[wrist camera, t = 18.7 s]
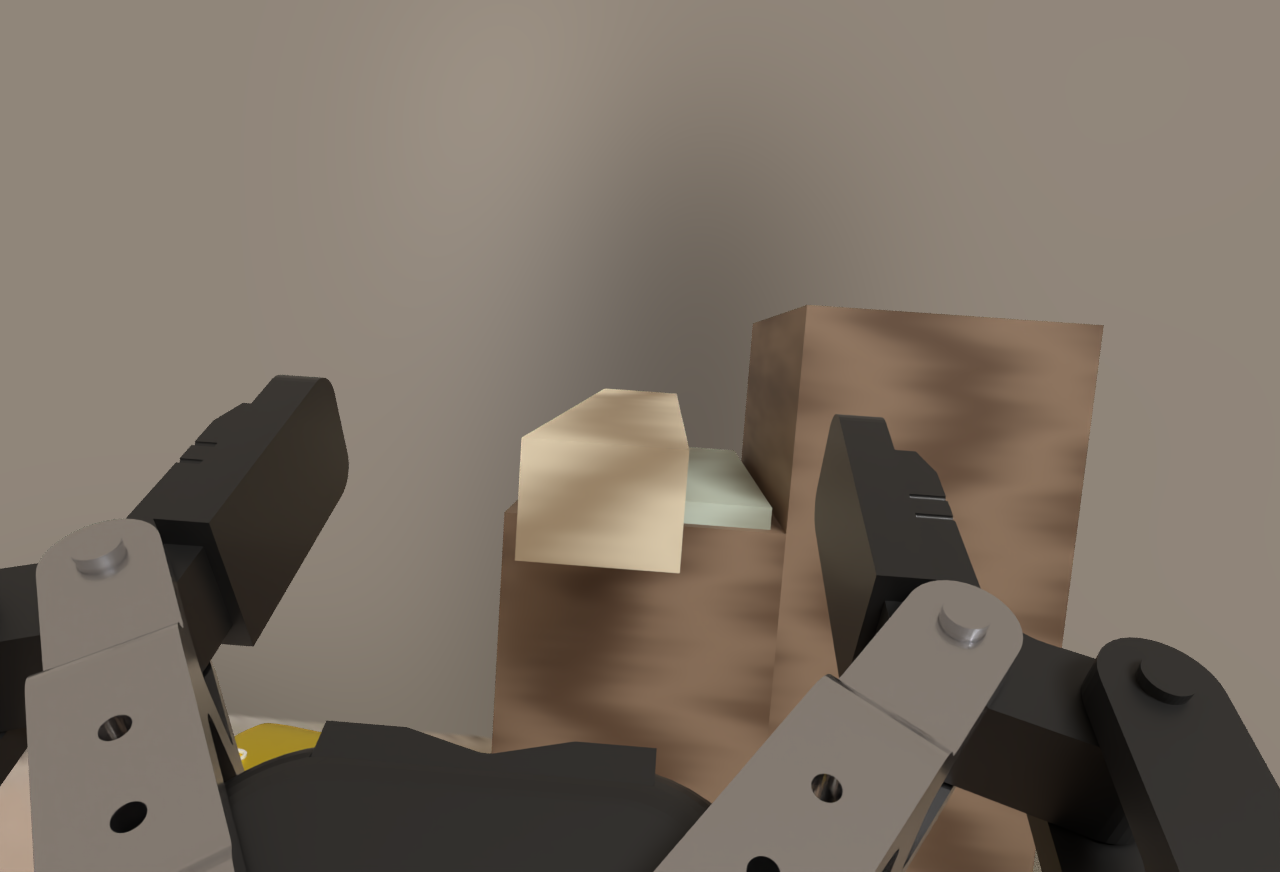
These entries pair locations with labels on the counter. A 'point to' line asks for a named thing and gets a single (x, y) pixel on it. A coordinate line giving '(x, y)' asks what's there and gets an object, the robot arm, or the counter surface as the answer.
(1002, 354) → the step shelf
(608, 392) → the birch bar
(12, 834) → the counter surface
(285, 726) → the element tile
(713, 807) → the robot arm
